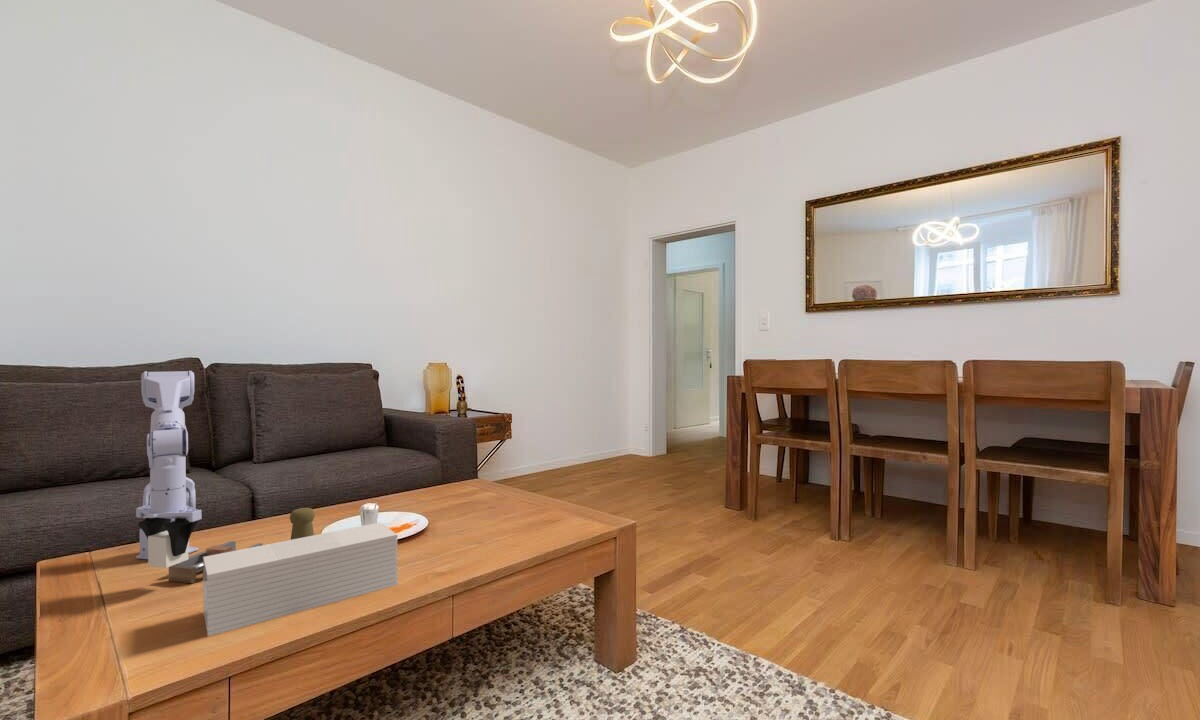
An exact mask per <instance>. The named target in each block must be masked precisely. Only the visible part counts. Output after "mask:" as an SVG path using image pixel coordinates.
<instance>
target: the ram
mask: <svg viewBox="0 0 1200 720" xmlns="http://www.w3.org/2000/svg"><path fill="white" fill-rule="evenodd" d="M205 551H206V556H211V555H216V554H221V553H226V552H231V551H232V547H224V546H219V545H212V546H209V547H207V548H205ZM200 571H203V562H201V563H198V564H196V565H193V566H191V567H190V566H181V565H173V566H170V567H168V581H169V582H177V583H178V582H179V583H187V584H193V583H195V582H197V573H199V572H200Z"/></svg>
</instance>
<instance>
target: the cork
mask: <svg viewBox="0 0 1200 720" xmlns="http://www.w3.org/2000/svg"><path fill="white" fill-rule="evenodd" d="M315 516H316V513H315V511H314V510H313V508H310V507H300V508H296V509H294V510H292V511H291V512H290V515H289V521H290V523H291V524H292V526H291V533H290V534H291V535H290V540H293V539H298V538H303V537H308V536H313V535H315V532H314V526H313V521H314V520H315Z"/></svg>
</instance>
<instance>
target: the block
mask: <svg viewBox="0 0 1200 720" xmlns="http://www.w3.org/2000/svg"><path fill="white" fill-rule="evenodd" d="M189 557H190V556H189V553H188V544H187V548H186V551H185V553H183V554H181V555H178V556H173V554H172V550H171V540H170V536H169V533H168V531H164V532H160V533H157V534H154V535H151V536H148V559H147V563H148V565H147V566H149V567H155V568H163V569H165V568H166V569H168V568H169V567H170V566H173V565H175V564H178V563H180V562H183V561H186V560H188V559H189Z"/></svg>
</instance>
